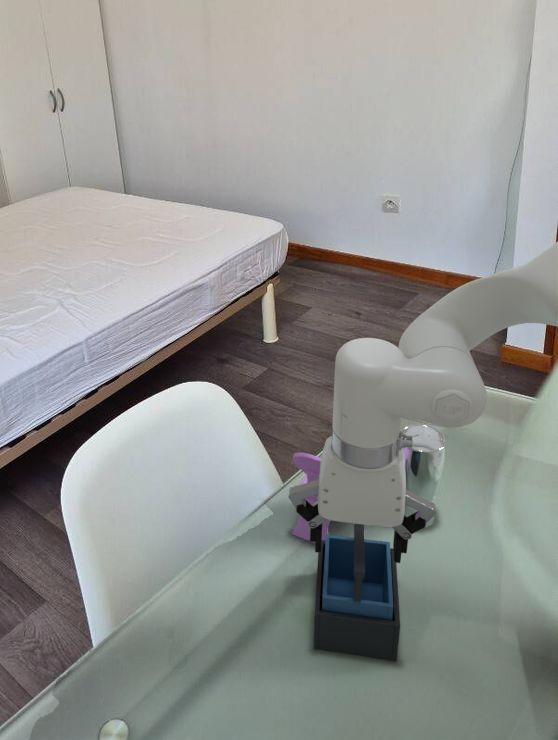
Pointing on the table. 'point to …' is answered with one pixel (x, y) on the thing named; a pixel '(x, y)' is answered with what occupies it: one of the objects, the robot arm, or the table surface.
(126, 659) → the table surface
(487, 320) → the robot arm
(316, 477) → the toy chair
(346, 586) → the blue bin
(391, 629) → the charcoal bin
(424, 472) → the beer glass
